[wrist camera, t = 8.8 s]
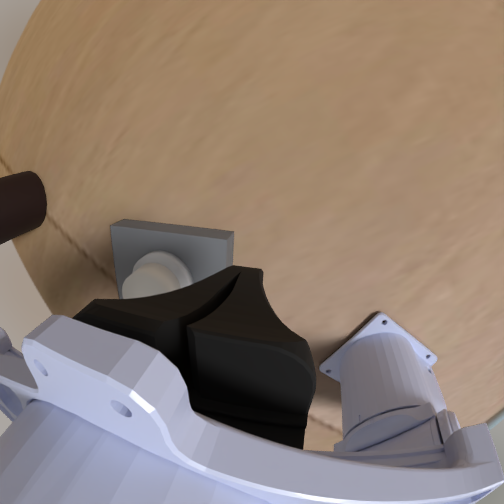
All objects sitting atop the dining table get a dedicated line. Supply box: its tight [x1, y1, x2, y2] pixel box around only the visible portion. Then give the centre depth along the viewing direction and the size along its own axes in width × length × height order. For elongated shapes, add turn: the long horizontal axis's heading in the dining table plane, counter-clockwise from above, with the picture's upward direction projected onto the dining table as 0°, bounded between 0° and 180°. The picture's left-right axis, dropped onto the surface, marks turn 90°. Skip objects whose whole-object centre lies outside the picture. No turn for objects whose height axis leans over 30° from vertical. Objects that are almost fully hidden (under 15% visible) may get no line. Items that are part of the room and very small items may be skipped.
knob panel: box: [110, 219, 234, 299], centre depth 25 cm, size 22×10×3 cm, turn 176°
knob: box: [122, 263, 181, 299], centre depth 20 cm, size 4×4×2 cm
